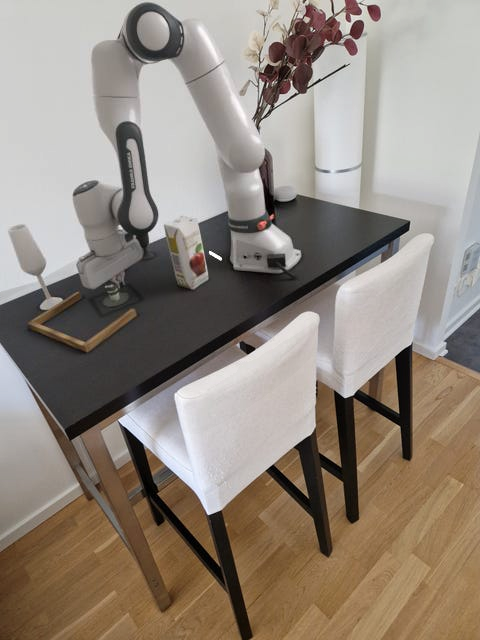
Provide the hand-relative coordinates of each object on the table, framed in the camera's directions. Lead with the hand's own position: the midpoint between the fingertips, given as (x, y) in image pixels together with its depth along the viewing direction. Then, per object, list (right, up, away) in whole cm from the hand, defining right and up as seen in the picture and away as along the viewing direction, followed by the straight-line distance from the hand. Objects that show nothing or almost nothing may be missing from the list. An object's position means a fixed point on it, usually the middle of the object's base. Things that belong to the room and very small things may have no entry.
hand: (120, 286), depth 124 cm
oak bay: (-8, -10, -8) cm, 15 cm away
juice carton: (+21, +1, +2) cm, 21 cm away
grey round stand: (-1, -4, 0) cm, 4 cm away
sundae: (+3, +12, +21) cm, 24 cm away
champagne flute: (-21, -5, +3) cm, 22 cm away
